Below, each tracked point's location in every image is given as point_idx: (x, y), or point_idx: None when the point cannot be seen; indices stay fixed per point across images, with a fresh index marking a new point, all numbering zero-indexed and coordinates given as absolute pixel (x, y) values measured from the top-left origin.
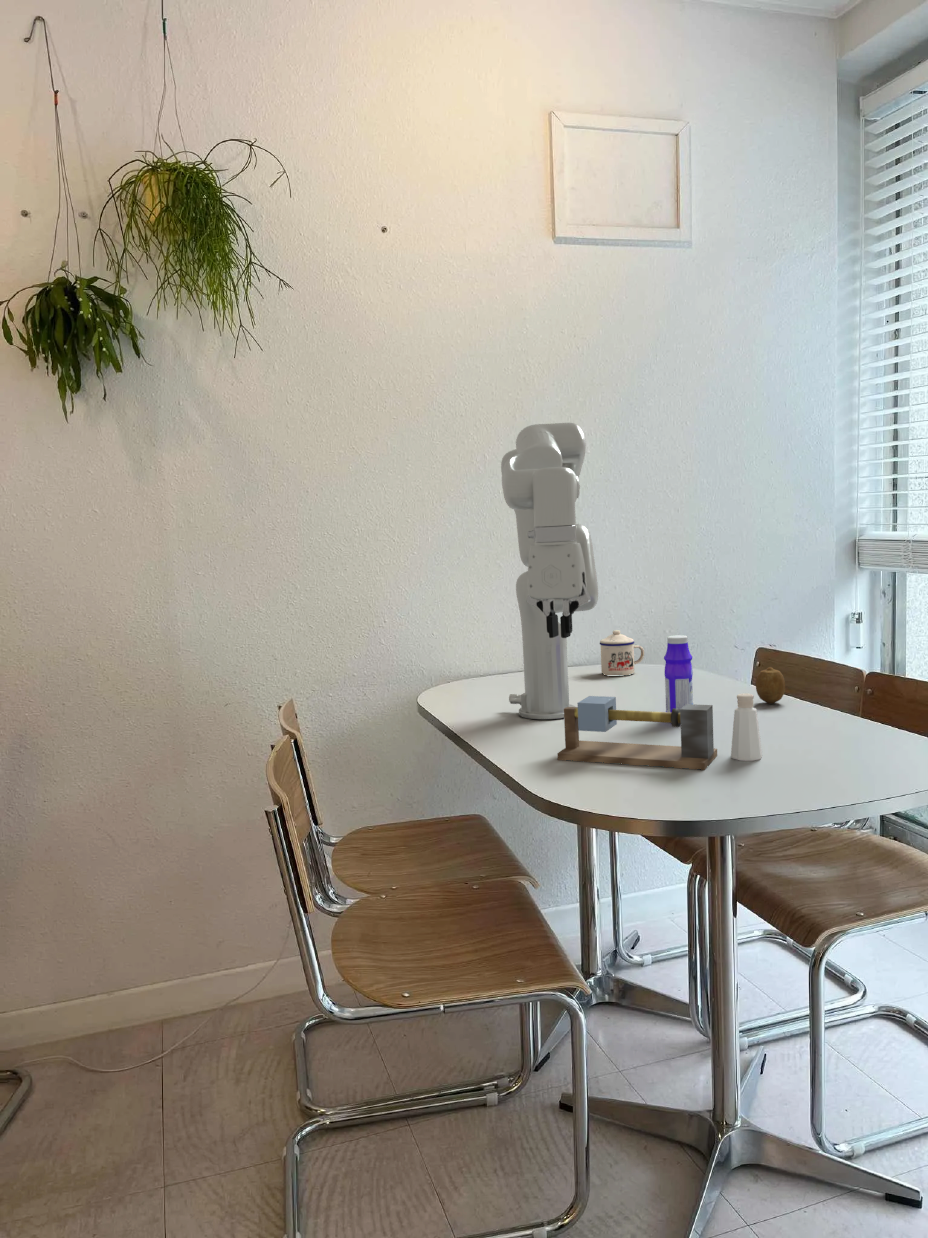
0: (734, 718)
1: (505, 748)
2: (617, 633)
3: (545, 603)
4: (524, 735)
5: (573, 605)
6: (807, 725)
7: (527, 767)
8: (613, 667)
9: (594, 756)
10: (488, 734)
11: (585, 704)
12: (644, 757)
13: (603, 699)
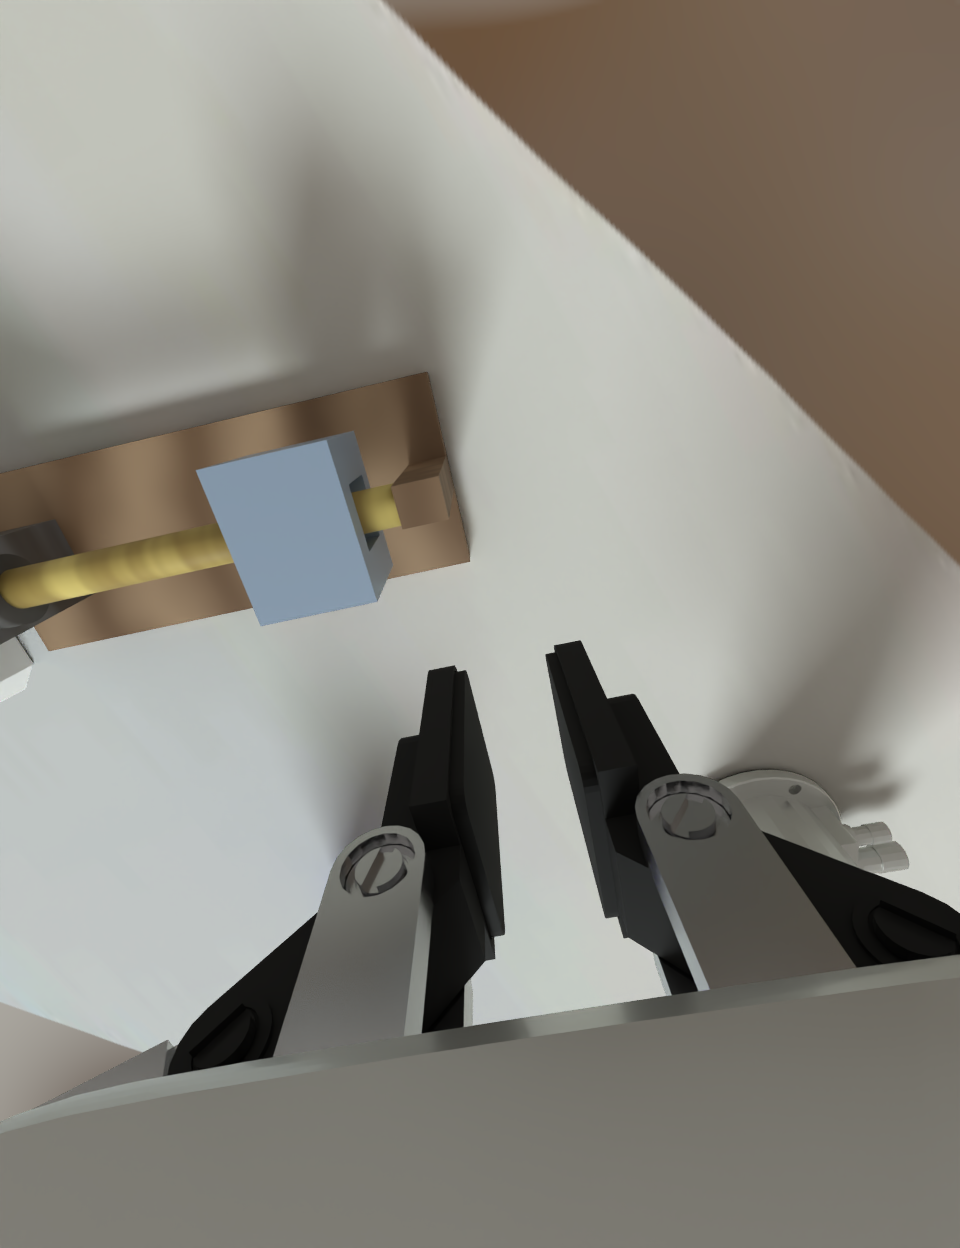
0: None
1: (679, 430)
2: None
3: (776, 950)
4: (699, 607)
5: (249, 1015)
6: (101, 952)
7: (465, 219)
8: None
9: (294, 403)
10: (823, 568)
11: (288, 448)
12: (141, 461)
13: (270, 558)
